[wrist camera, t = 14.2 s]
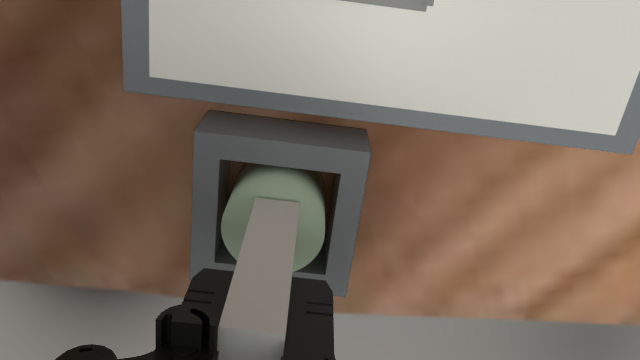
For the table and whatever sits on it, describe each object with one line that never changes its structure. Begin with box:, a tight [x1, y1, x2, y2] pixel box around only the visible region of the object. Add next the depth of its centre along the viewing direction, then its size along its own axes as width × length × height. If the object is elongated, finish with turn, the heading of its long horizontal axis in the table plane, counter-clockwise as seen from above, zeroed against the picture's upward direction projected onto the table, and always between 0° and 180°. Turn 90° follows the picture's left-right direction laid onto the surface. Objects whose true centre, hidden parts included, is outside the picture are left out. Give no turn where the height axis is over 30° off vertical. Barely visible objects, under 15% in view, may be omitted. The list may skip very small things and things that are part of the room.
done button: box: [221, 163, 325, 272], centre depth 20 cm, size 4×4×3 cm
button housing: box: [190, 110, 371, 297], centre depth 20 cm, size 6×6×2 cm
